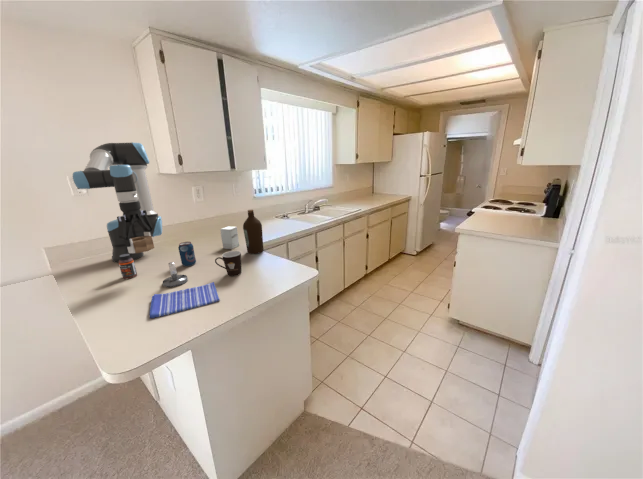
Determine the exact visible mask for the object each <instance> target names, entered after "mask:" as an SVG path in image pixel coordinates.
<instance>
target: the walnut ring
mask: <svg viewBox="0 0 643 479" xmlns="http://www.w3.org/2000/svg"><path fill="white" fill-rule="evenodd" d="M131 239H132V241H133V245H134V249H135V253H141V252H143V253H145V252H150V251H151V250H153V249H155V244H154V241H153V237H151V236H140V237H135V238H131Z"/></svg>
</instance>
